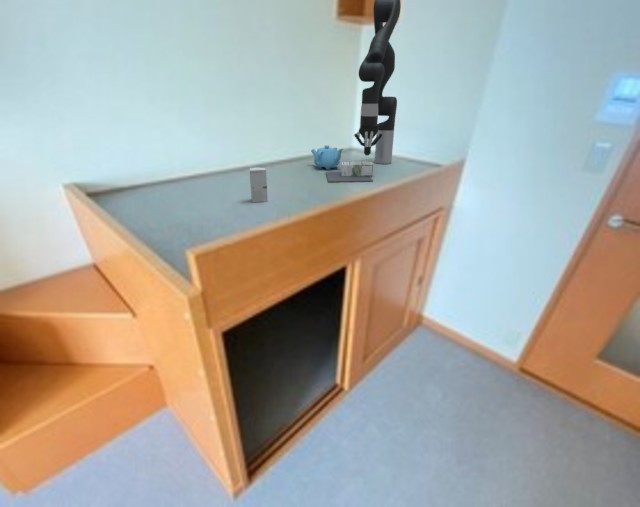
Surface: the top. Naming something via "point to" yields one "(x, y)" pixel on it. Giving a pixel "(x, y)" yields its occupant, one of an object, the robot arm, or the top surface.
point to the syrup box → (357, 169)
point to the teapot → (327, 157)
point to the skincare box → (258, 184)
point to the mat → (345, 178)
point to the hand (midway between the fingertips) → (367, 155)
